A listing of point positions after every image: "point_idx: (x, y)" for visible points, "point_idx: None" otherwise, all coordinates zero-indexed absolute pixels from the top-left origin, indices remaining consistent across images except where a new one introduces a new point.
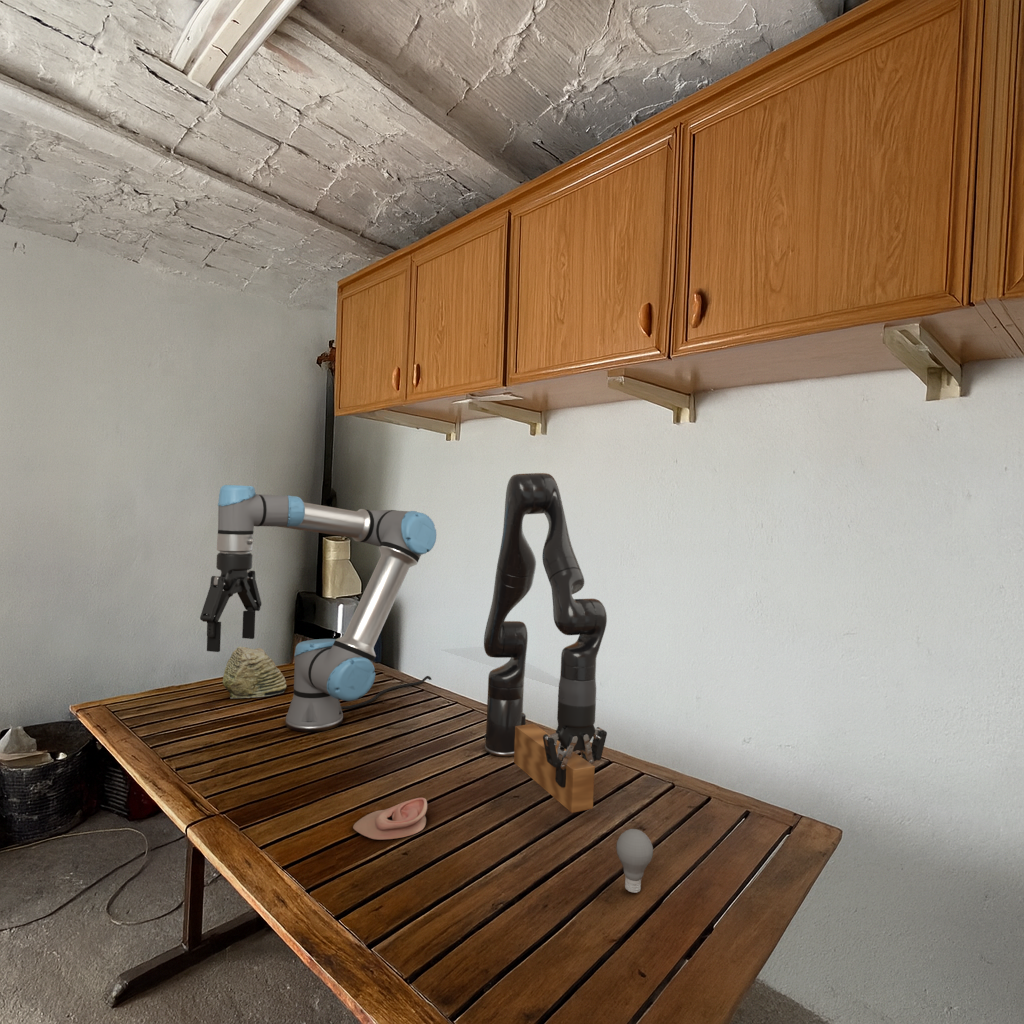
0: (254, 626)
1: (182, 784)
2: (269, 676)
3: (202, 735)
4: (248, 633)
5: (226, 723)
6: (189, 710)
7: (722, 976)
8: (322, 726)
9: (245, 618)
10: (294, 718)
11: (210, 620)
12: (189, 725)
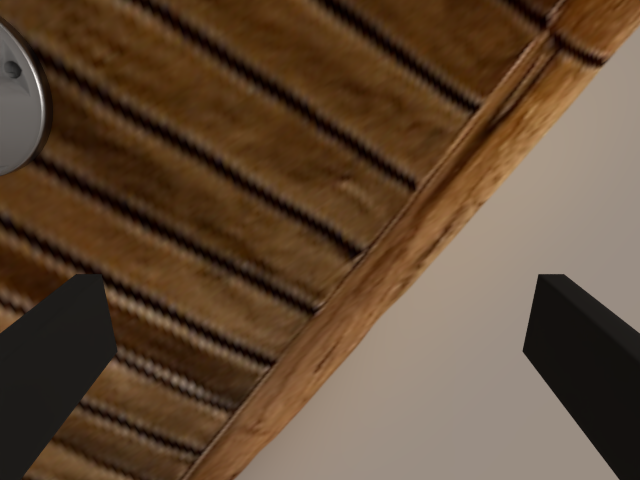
0: (10, 329)
1: (422, 198)
2: None
3: (177, 314)
4: (88, 329)
5: None
6: None
7: None
8: (4, 26)
9: (4, 466)
10: (26, 123)
11: None
12: (139, 370)
